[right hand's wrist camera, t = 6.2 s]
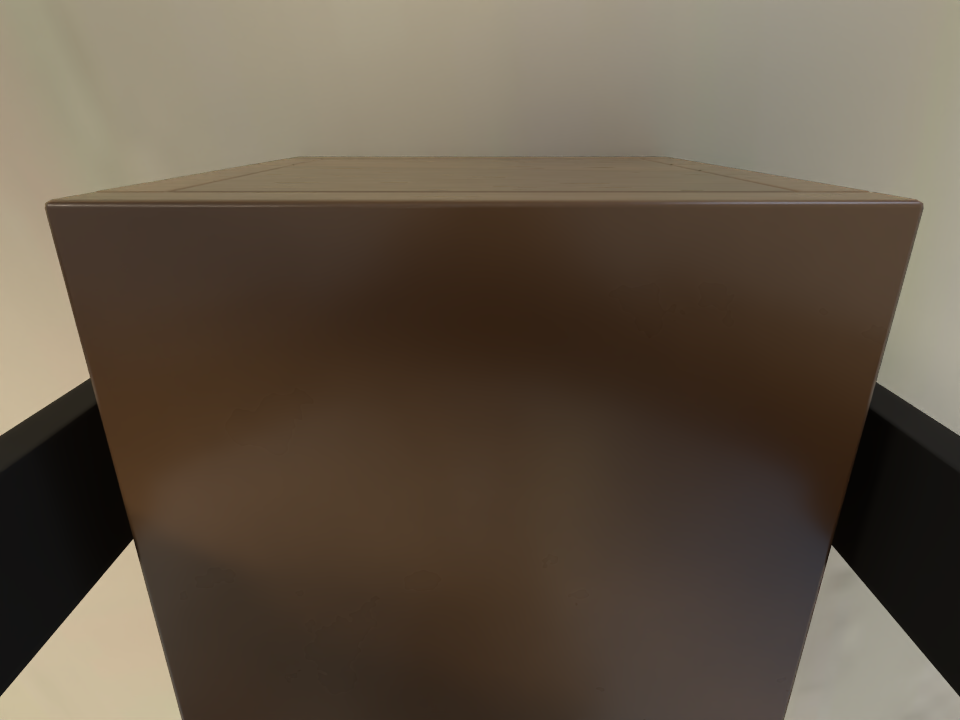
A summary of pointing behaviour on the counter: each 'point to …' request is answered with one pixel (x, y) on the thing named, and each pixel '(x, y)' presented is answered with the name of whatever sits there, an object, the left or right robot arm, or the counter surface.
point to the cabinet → (483, 426)
